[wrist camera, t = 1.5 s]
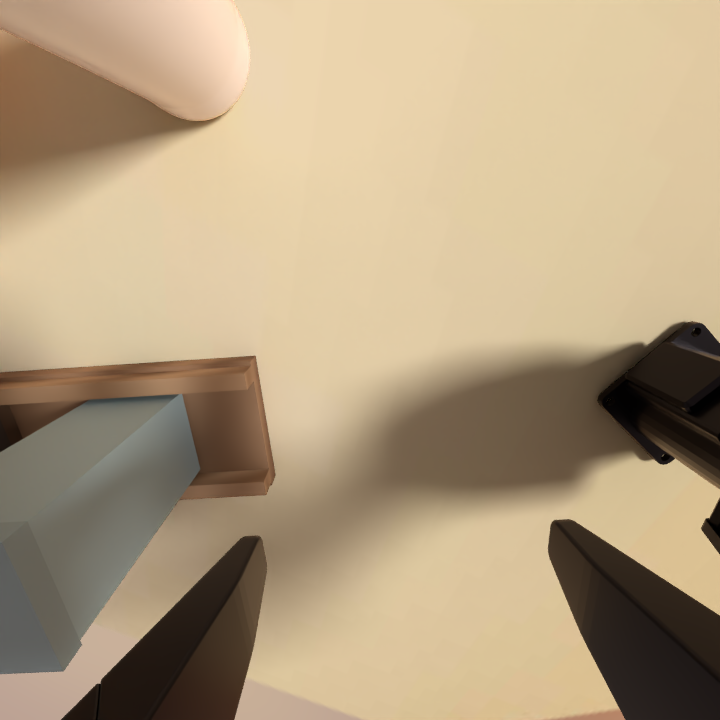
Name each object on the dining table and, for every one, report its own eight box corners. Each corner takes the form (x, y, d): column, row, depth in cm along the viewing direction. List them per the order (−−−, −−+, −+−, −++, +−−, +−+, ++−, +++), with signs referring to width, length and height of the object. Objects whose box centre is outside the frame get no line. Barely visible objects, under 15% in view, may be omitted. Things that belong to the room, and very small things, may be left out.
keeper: (182, 390, 20) (2, 542, 10) (202, 470, 22) (63, 671, 12) (90, 396, 20) (-180, 551, 10) (117, 475, 22) (-94, 678, 12)
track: (255, 355, 21) (180, 437, 12) (275, 475, 23) (224, 612, 15) (-18, 373, 21) (-277, 465, 12) (31, 489, 24) (-158, 630, 15)
